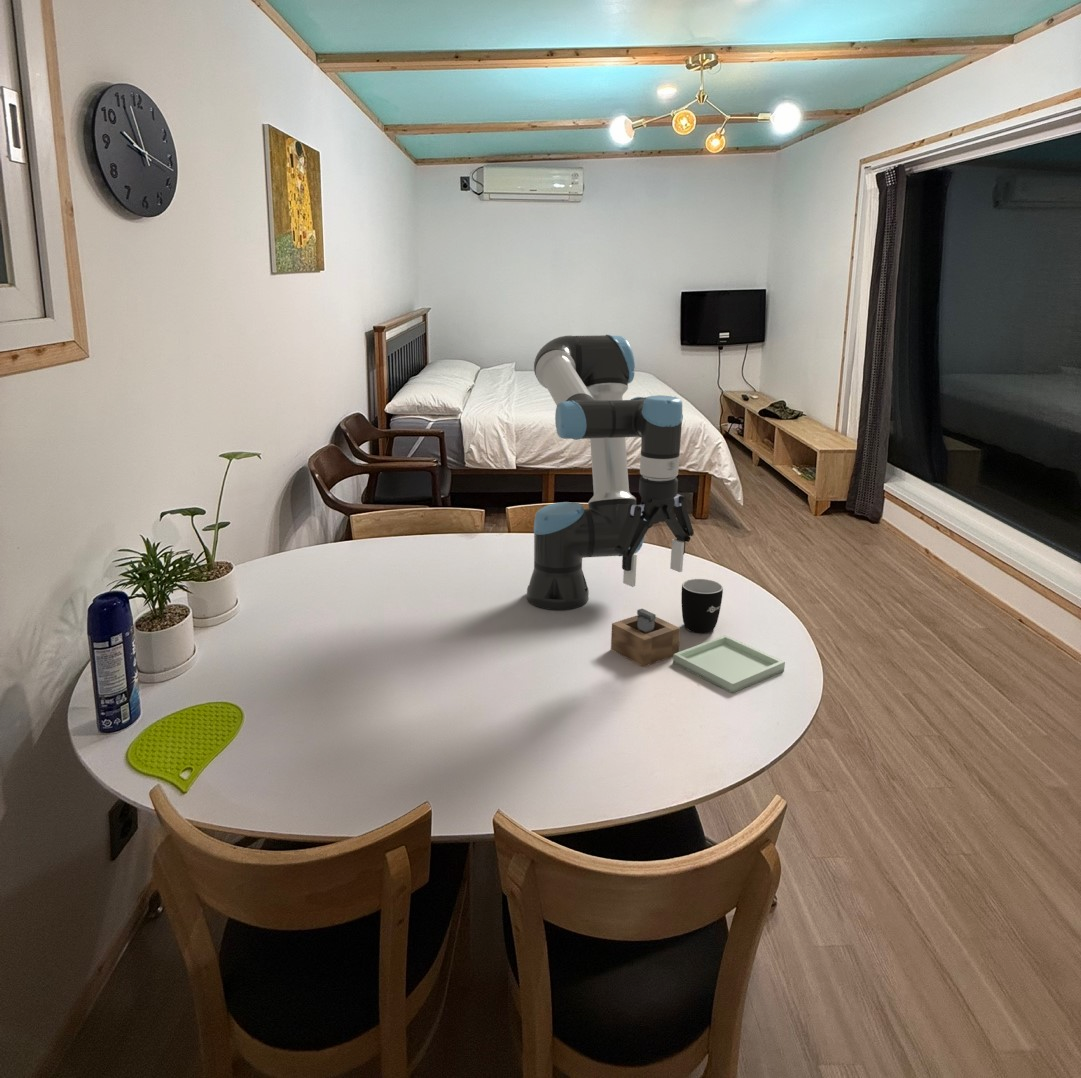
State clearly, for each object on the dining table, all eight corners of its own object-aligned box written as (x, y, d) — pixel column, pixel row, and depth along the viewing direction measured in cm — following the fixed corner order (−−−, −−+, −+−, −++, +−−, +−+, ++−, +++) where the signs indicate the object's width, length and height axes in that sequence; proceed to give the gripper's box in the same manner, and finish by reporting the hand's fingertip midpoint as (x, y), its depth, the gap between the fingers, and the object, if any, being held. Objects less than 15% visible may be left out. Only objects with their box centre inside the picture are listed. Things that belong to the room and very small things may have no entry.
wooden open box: (610, 649, 170) (611, 623, 168) (645, 637, 176) (646, 612, 174) (643, 667, 162) (644, 640, 160) (678, 654, 168) (680, 627, 166)
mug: (706, 639, 175) (709, 596, 172) (671, 628, 180) (674, 586, 177) (733, 623, 183) (737, 581, 180) (699, 612, 189) (702, 572, 186)
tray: (673, 662, 164) (673, 654, 164) (724, 643, 173) (725, 635, 172) (732, 693, 152) (732, 684, 152) (784, 670, 161) (785, 661, 160)
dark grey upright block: (631, 650, 169) (633, 611, 167) (644, 646, 172) (646, 607, 169) (644, 657, 166) (646, 617, 164) (657, 652, 168) (659, 613, 166)
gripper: (625, 490, 147) (621, 597, 154) (715, 471, 162) (708, 569, 168) (598, 481, 153) (595, 585, 159) (687, 464, 167) (681, 559, 174)
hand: (653, 577), depth 164 cm, fingers open, 13 cm apart
